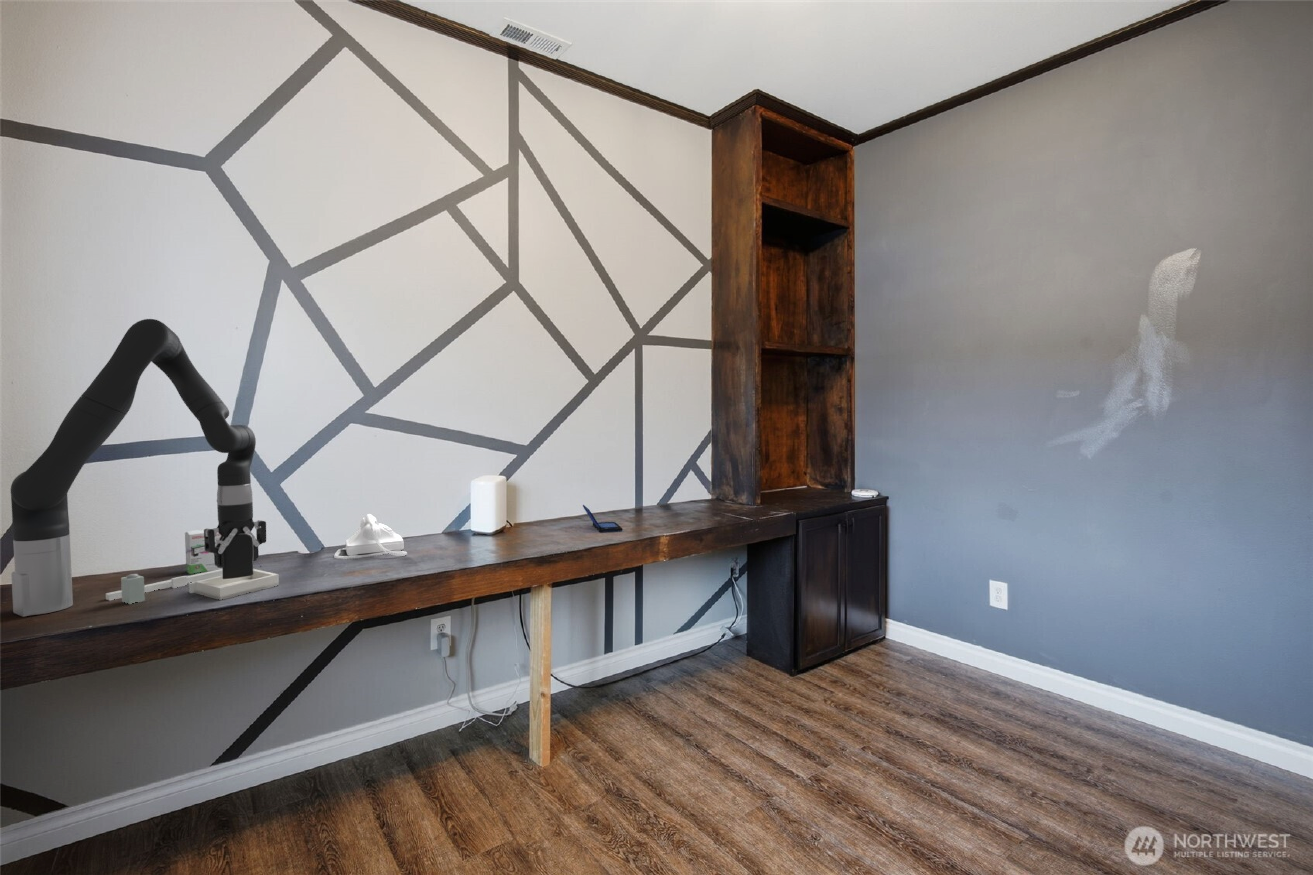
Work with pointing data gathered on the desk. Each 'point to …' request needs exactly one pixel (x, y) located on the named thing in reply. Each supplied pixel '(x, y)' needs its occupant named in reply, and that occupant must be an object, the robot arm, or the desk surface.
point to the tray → (236, 585)
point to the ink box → (198, 553)
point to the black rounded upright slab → (238, 557)
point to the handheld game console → (603, 524)
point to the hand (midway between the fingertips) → (237, 563)
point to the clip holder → (155, 586)
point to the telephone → (372, 540)
